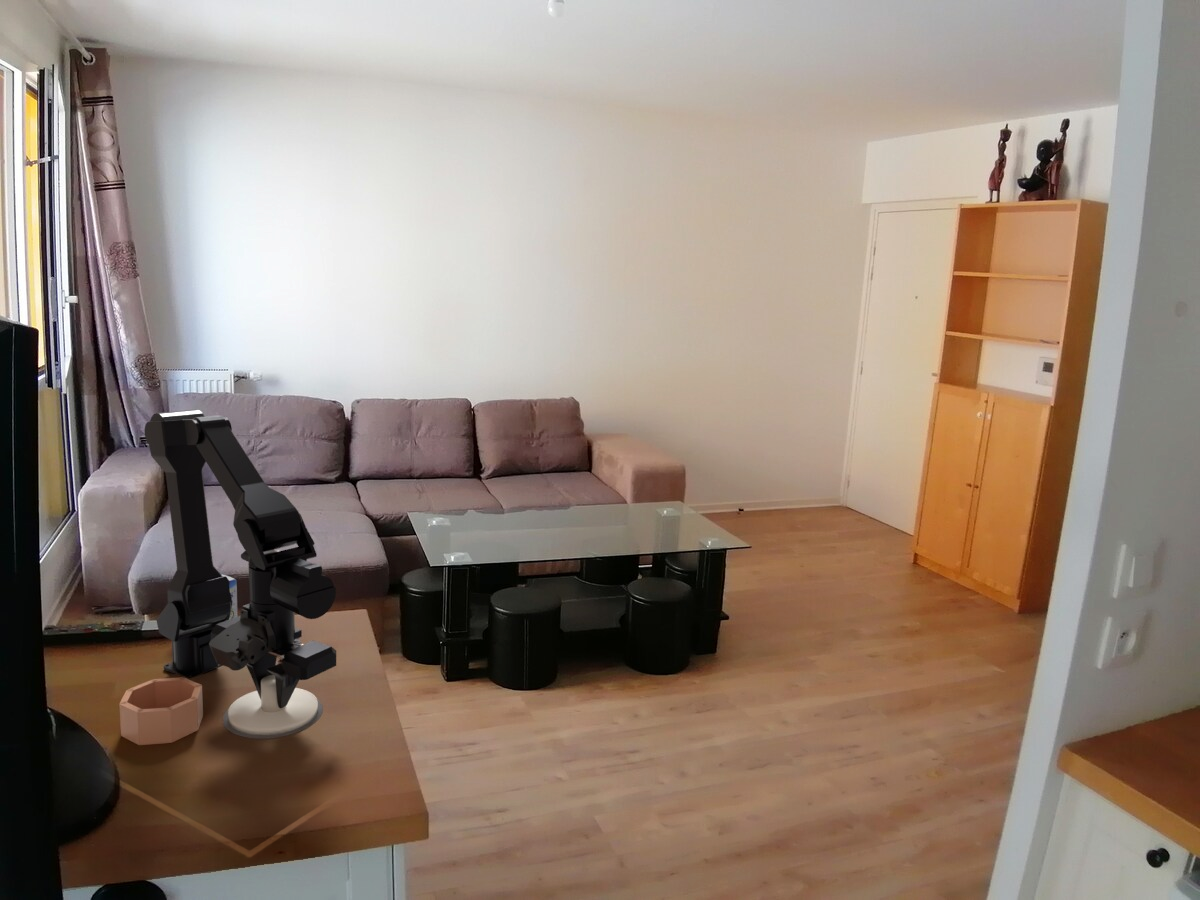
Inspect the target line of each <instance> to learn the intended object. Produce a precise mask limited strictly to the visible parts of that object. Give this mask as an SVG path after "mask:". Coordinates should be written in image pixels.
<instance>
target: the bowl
mask: <svg viewBox="0 0 1200 900" xmlns="http://www.w3.org/2000/svg"><path fill="white" fill-rule="evenodd" d="M118 705H119V706H118V707H119V724H120V726H119V727H120V737H123V738H124V739H126V740H128V741H130V742H131V743H134V744H136V745H138V746H145V745H159V744H169V743H171V744H173V743H174V742H177V741H178V740H180V739H183V738H184V737H186V736H189V735H190V734H193V733H194V732H195V733H196V732H198V731H199V728H200V725H201V724H202V720H203V717H204V709H203V708H204V706H203V705H204V703H203V684H200V683H198V682H195V681H193V680H191V679H190V678H187V677H185V676H182V677H168V678H153V679H149V680H148V681H145V682H142V683H140V684H138V685H136V686H133V687H131V688H128V689H126V691H125V692H124V695H123V696H122V698H121V700H120V702H119V704H118Z"/></svg>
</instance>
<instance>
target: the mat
mask: <svg viewBox="0 0 1200 900" xmlns="http://www.w3.org/2000/svg"><path fill="white" fill-rule="evenodd" d="M317 701H318V711H317V714H316V716H315V717H314V718H313V719H312V720H311V721H310V722H309V723H308V724H306V725H304V726H302V727H300V728H298V729H295V730H293V731H289V732H286V733H281V734H275V735H251V734H246V733H242V732H240V731H237V730H236V729H234V728H233V727H232V726H231V725H230V723H229V720H228V710H229V708H228V709H227V710H226V711H225V713H224V714H223V717H222V724H223V726H224V728H225V729H226V730H228V731H229V732H231V733H232V734H234V735H236V736H240V737H244V738H249V739H273V738H281V737H286V736H289V735H293V734H297V733H298V732H301V731H304V730H306V729H307V728H309V727H311V726H312V725H314V724H315V723H316V722H317V721H318V720H319V719H320V718H321V717H322V715H323V711H324V707H323V704H322V703H321V701H320V700H319V699H318V698H317Z"/></svg>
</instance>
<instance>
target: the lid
mask: <svg viewBox="0 0 1200 900" xmlns="http://www.w3.org/2000/svg"><path fill="white" fill-rule="evenodd" d="M317 699H318V698H317V697H316V696H315V694H314V693H312V692H310V691H309V690H306V689H302V688H299V687H296V688H295V690H294V692H293V694H292V696H291V698H290V700H289V702H288V704H287V705H286V706H285V707H283V708H279V707H278V702H277V693H276V682H275V676H274V675H269V676H266V677H264V678H263V679H262V680H261V699H260V697H259V694H258V692H257V690H254V691H251V692H248V693H246V694H244V695H242V696H241V697H238V698H237V699H235V700H234V701H233V702H232V703H231V705H230V706H229V707H228V709H229V710H228V709H227V710H228V720H229V723H230V725H231V726H232V727H233V728H234V729H236V730H237V731H240V732H242V733H246V734H251V735H275V734H281V733H286V732H289V731H293V730H295V729H298V728H300V727H302V726H304V725H306V724H308V723H309V722H310V721H311V720H312V719H313V718H314V717H315V716H316V714H317V711H318V701H317Z"/></svg>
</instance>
